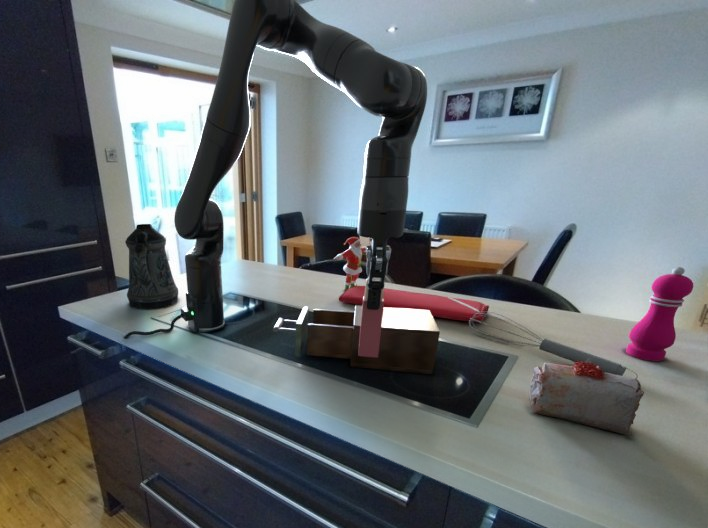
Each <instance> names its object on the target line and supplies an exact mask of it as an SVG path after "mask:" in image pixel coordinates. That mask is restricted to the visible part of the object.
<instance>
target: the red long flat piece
mask: <svg viewBox="0 0 708 528" xmlns="http://www.w3.org/2000/svg"><path fill="white" fill-rule="evenodd" d="M365 287H366V285H357V286H355V287H353V288H350V287H349V288H350V289H348V290H347V291H343V292H342V293H341V295H340V296H339V297H338V301H339V302H343V303H347V304H353V305H357V306H362V305H363V296H365ZM383 298H384V307H387V308H403V309H419V310H430V312H431V314H432V316H433V317H436V318H442V319H449V320H455V321H462V322H469V321H470V320H471V319H470V318H472V317H473V319H475V320H477V321H480V322H481V323H482V322H483V321H484V319H485V317H486V316H487V315H486V314H488V313H489V309H490V305H488V304H484V303H483V302H480V301H477V300H472V299H463V298H457V297H456V298H455V297H449V296H444V295H443V296H442V295H437V294H436V295H435V294H429V293H421V292H413V291H407V290H400V289H394V288H393V289H392V288H385V287H384V292H383ZM485 311H487V312H485ZM479 312H480V313H483V314H476V313H479ZM475 314H476V315H475ZM473 315H475V316H478V317H475V316H473ZM481 315H483V316H481ZM474 317H475V318H474ZM477 321H474V320H473V322H471V321H470V323H478V322H477ZM480 322H479V323H480Z"/></svg>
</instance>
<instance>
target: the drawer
mask: <svg viewBox="0 0 708 528" xmlns="http://www.w3.org/2000/svg"><path fill="white" fill-rule="evenodd" d="M309 310H310V308H309V306H303V308H302V310H301V312H300V313H299V316H298V319H297V320H293V319H284V318H283V317H279V318H278V320H277V321H276V323H275V324H274V326H273V327H272V328H273V329H272V331H273V332H274V333H276V334H277V333H279V332H287V333H295V340H294V341H295V342H294V343H295V345H294V346H295V347H294V357H299V358H301V356H302V353H303V350H304V347H305V345H306V356H316V357H325V358H326V357H327V358H336V359H348V360H351V352H352V341H353V329H354V315H355V311H353V310H352V311H351V310H337V309H336V310H335V309H320V308H313V309H312V322H311V323H310V322H309V312H310V311H309ZM283 324H295V328H289V327H288V328H287V327H282V326H283Z"/></svg>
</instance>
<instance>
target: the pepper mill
mask: <svg viewBox="0 0 708 528" xmlns="http://www.w3.org/2000/svg"><path fill="white" fill-rule="evenodd" d="M685 271H686V270H685V268H683V267H681V266H677V267H674V268H673V269H672V270H671V273H667V274H663V275H660V276H658V277H657V278H656V279H655V280H654V281H653V282H652V284H651V290H652V293H653V294H652V295H651V296H650V299H649V302H650V306H649V308H648V310H647V313H645V315H644V316H643V317H642V318H641V319H640V320H639V321H637V323H636V324H635V325H634V326H633V327H632V328H631V329H630V331H629V334H628V338H629V340H630V341H631V343H628V344H627V347H626V349H625V352H626V354H628V355H629V356H631V357H634V358H636V359H639V360H645V361H650V362H661V361H663V360H664V359H665V357H666V355H667V351H666V349H668V348H671V347H672V346H673V345H674V344H675V342H676V337H677V336H676V335H677V334H676V327H675V316H676V313H677V311H678V309H679V308H681V307H683V303H684V302H685V300H684V298H685V297H687V296H689V295H691V293H692V292H693V289H694V282H693V280H692V279H691V278H689V277H688V276H685V275H684V273H685Z"/></svg>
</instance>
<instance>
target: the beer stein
mask: <svg viewBox="0 0 708 528" xmlns="http://www.w3.org/2000/svg"><path fill="white" fill-rule="evenodd" d="M124 243H125V245H126V248H127V249H128V290H127V292H126V297H127V300H128V302H129V306H131V308H134V309H138V310H156V309H163V308H168V307H170V306H173V305H175V304H177V302H178V299H179V288H178V286H177V284H176V282H175V279H174V276H173V273H172V270H171V266H170V263H169V258H168V255H167V251H166V244H167V238H166V237H165V236H164V235H163V234H161V233H160V232H159V231H158V230H156V229H155V228H154V227H153V225H152V224H150V223H140V224H136V227H135V229H134V230H133V231H132V232H131V233H130V235H128V236H127V238H126V239H125V241H124Z"/></svg>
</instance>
